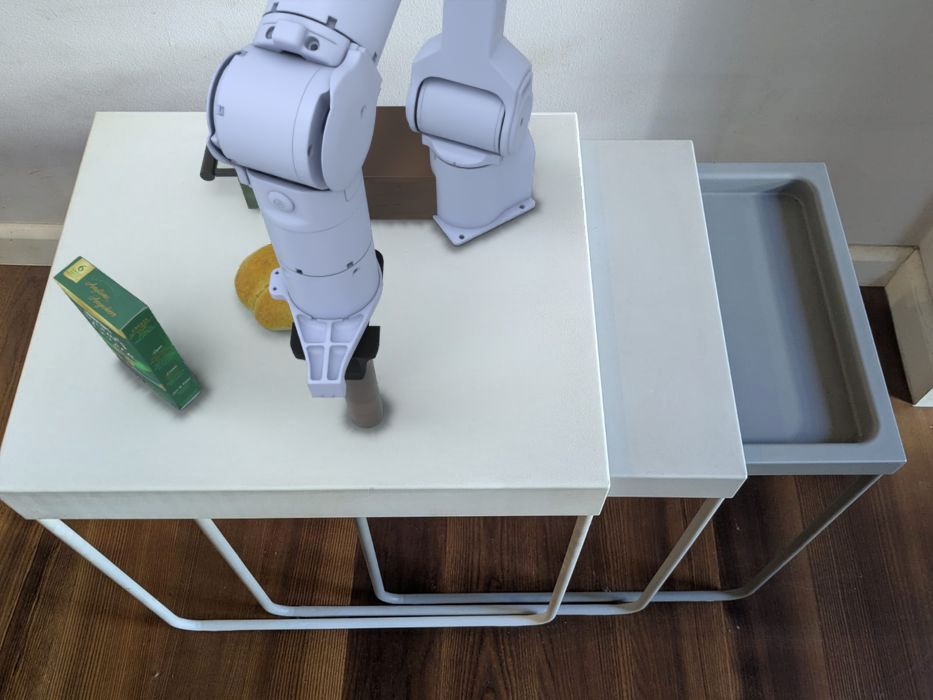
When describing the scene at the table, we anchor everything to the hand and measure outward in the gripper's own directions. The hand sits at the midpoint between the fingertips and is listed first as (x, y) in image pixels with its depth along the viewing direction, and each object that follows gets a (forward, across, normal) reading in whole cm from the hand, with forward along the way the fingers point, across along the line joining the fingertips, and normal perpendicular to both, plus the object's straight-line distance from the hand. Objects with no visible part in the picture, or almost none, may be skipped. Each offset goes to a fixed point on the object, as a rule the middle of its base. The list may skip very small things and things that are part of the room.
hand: (351, 352), depth 56 cm
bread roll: (+11, -12, -8) cm, 18 cm away
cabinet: (+10, -26, +1) cm, 28 cm away
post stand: (+10, 0, 0) cm, 10 cm away
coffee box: (+11, -4, -18) cm, 21 cm away
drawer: (+9, -25, -9) cm, 29 cm away
